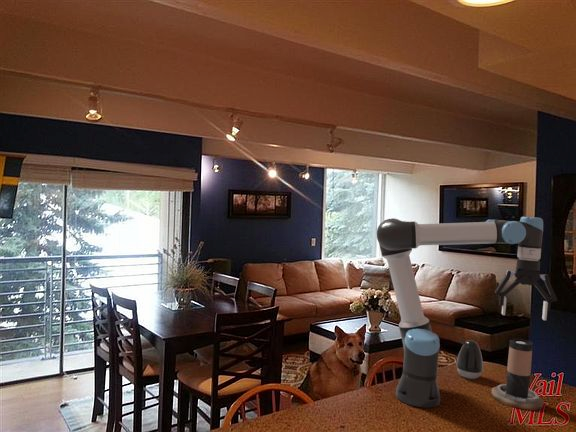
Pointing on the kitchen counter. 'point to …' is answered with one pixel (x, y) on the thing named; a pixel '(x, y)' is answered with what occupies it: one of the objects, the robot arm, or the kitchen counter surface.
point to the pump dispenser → (469, 360)
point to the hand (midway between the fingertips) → (523, 317)
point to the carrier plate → (517, 399)
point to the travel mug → (519, 368)
